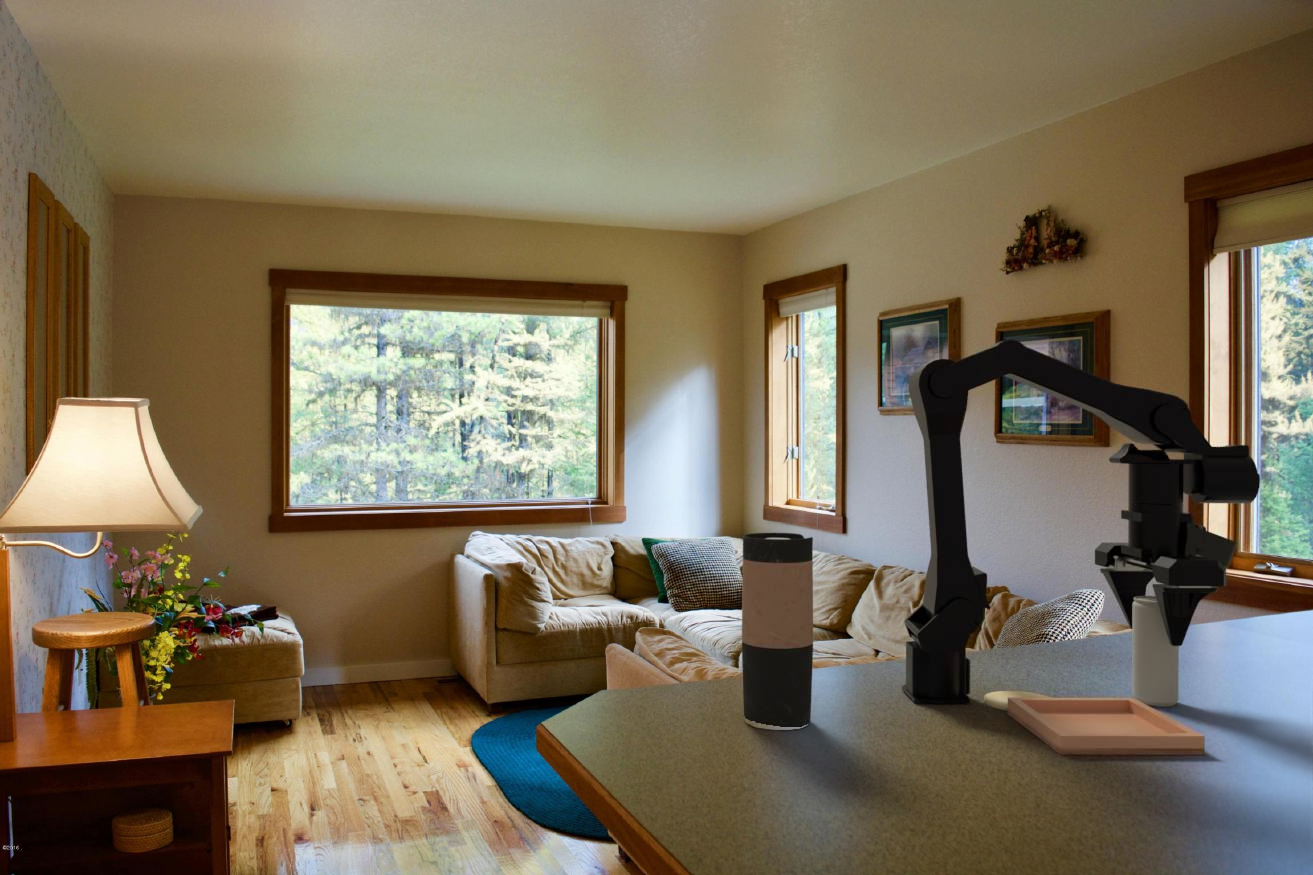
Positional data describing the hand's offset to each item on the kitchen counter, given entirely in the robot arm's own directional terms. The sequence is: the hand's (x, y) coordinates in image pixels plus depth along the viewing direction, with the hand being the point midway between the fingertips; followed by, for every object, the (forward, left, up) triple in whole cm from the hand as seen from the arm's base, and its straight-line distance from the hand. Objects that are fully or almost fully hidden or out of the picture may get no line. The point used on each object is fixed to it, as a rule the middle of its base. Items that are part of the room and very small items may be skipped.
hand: (1155, 637), depth 114 cm
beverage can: (0, 0, -8) cm, 8 cm away
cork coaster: (-16, -1, -8) cm, 18 cm away
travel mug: (-45, -8, -8) cm, 46 cm away
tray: (-12, -12, -8) cm, 19 cm away
